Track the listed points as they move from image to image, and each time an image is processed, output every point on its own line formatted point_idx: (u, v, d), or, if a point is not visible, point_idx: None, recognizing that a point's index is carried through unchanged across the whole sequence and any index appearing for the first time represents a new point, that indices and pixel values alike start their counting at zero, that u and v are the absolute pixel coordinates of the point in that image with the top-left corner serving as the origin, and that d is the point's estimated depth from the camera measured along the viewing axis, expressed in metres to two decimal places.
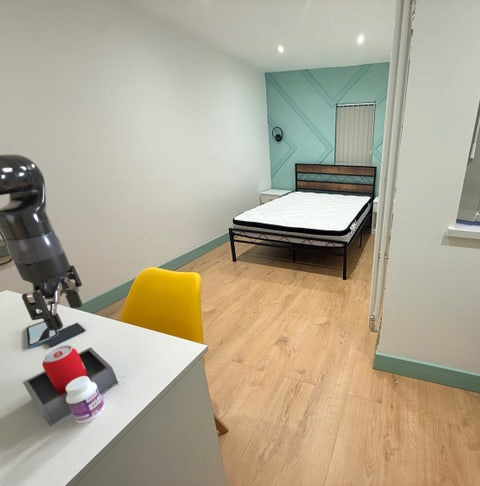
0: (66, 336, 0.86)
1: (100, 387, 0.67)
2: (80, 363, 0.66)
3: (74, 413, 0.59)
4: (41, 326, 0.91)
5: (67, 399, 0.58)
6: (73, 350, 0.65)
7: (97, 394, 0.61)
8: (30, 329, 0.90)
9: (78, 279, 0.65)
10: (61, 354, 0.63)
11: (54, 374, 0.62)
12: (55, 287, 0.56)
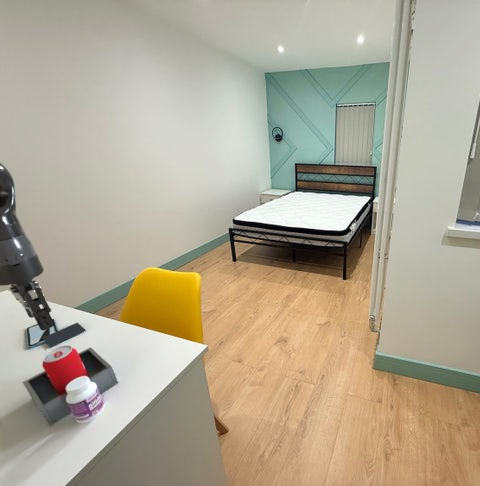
0: (66, 336, 0.86)
1: (100, 387, 0.67)
2: (80, 363, 0.66)
3: (74, 413, 0.59)
4: None
5: (67, 399, 0.58)
6: (73, 350, 0.65)
7: (97, 394, 0.61)
8: (30, 330, 0.90)
9: None
10: (61, 354, 0.63)
11: (54, 374, 0.62)
12: (37, 287, 0.57)
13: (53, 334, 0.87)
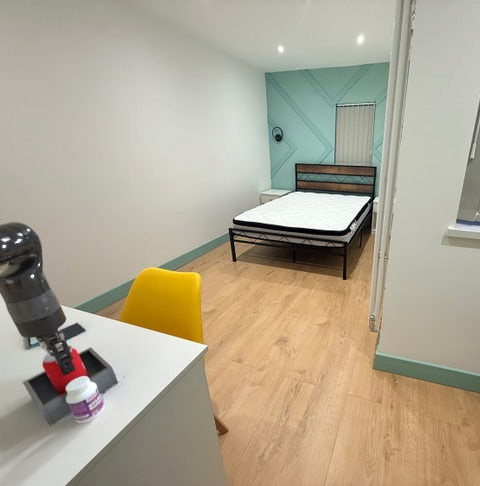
0: (66, 336, 0.86)
1: (100, 387, 0.67)
2: (80, 363, 0.66)
3: (74, 413, 0.59)
4: None
5: (67, 399, 0.58)
6: (73, 350, 0.65)
7: (97, 394, 0.61)
8: None
9: None
10: None
11: (54, 374, 0.62)
12: (60, 335, 0.62)
13: None
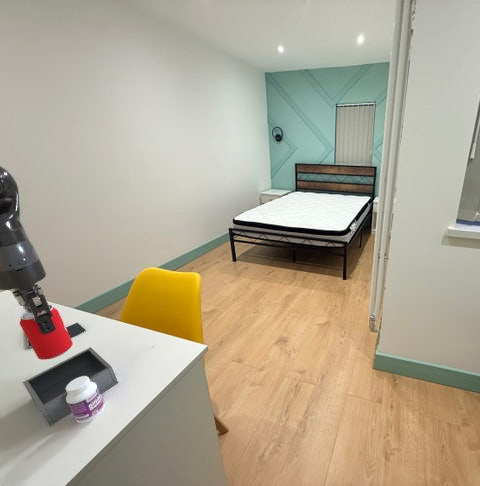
0: None
1: (100, 387, 0.67)
2: (61, 324, 0.62)
3: (74, 413, 0.59)
4: None
5: (67, 399, 0.58)
6: (54, 309, 0.61)
7: (97, 394, 0.61)
8: None
9: None
10: (40, 313, 0.59)
11: (32, 333, 0.58)
12: (39, 291, 0.58)
13: None
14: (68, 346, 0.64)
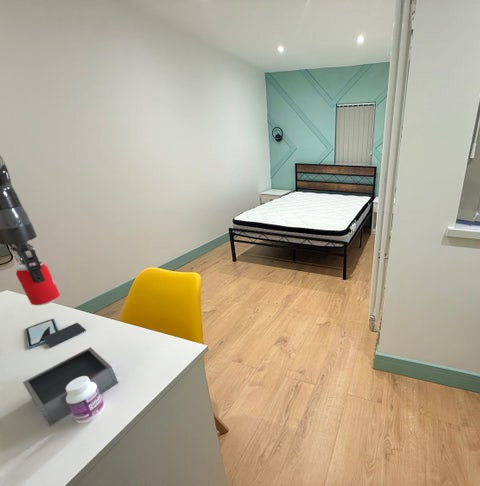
0: (66, 336, 0.86)
1: (100, 387, 0.67)
2: (50, 277, 0.77)
3: (74, 413, 0.59)
4: (41, 327, 0.91)
5: (67, 399, 0.58)
6: (44, 265, 0.76)
7: (97, 394, 0.61)
8: (30, 330, 0.90)
9: None
10: None
11: (26, 281, 0.73)
12: (31, 248, 0.73)
13: (53, 334, 0.87)
14: (55, 296, 0.79)
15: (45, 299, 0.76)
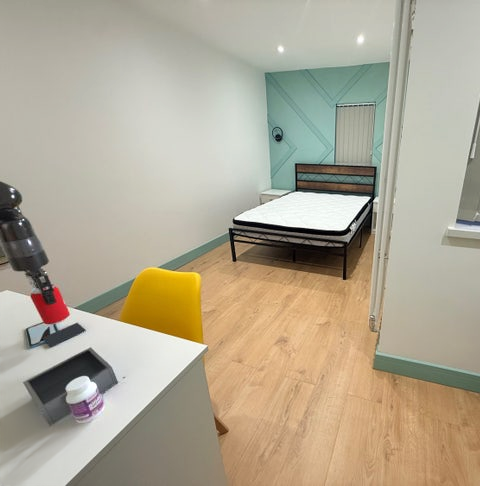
0: (66, 336, 0.86)
1: (100, 387, 0.67)
2: (61, 298, 0.84)
3: (74, 413, 0.59)
4: (41, 327, 0.91)
5: (67, 399, 0.58)
6: (55, 287, 0.83)
7: (97, 394, 0.61)
8: (30, 330, 0.90)
9: None
10: (45, 289, 0.80)
11: (39, 303, 0.79)
12: (44, 273, 0.79)
13: (53, 334, 0.87)
14: (66, 315, 0.85)
15: (57, 319, 0.83)
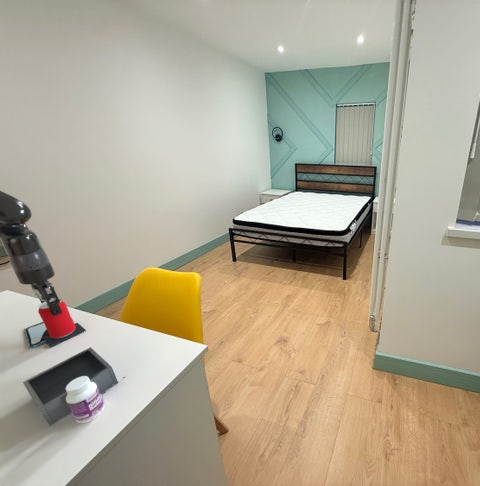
0: (66, 336, 0.86)
1: (100, 387, 0.67)
2: (67, 313, 0.86)
3: (74, 413, 0.59)
4: (41, 327, 0.91)
5: (67, 399, 0.58)
6: (62, 302, 0.85)
7: (97, 394, 0.61)
8: (29, 330, 0.89)
9: None
10: None
11: (47, 318, 0.81)
12: (50, 285, 0.81)
13: None
14: (72, 329, 0.87)
15: (63, 333, 0.85)
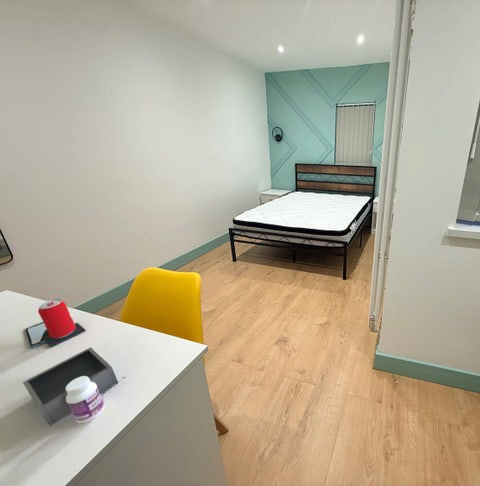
0: (66, 336, 0.86)
1: (100, 387, 0.67)
2: (67, 313, 0.86)
3: (74, 413, 0.59)
4: (40, 327, 0.91)
5: (67, 399, 0.58)
6: (62, 302, 0.85)
7: (97, 394, 0.61)
8: (29, 330, 0.89)
9: None
10: (52, 304, 0.82)
11: (47, 318, 0.81)
12: None
13: None
14: (72, 329, 0.87)
15: (63, 333, 0.85)
